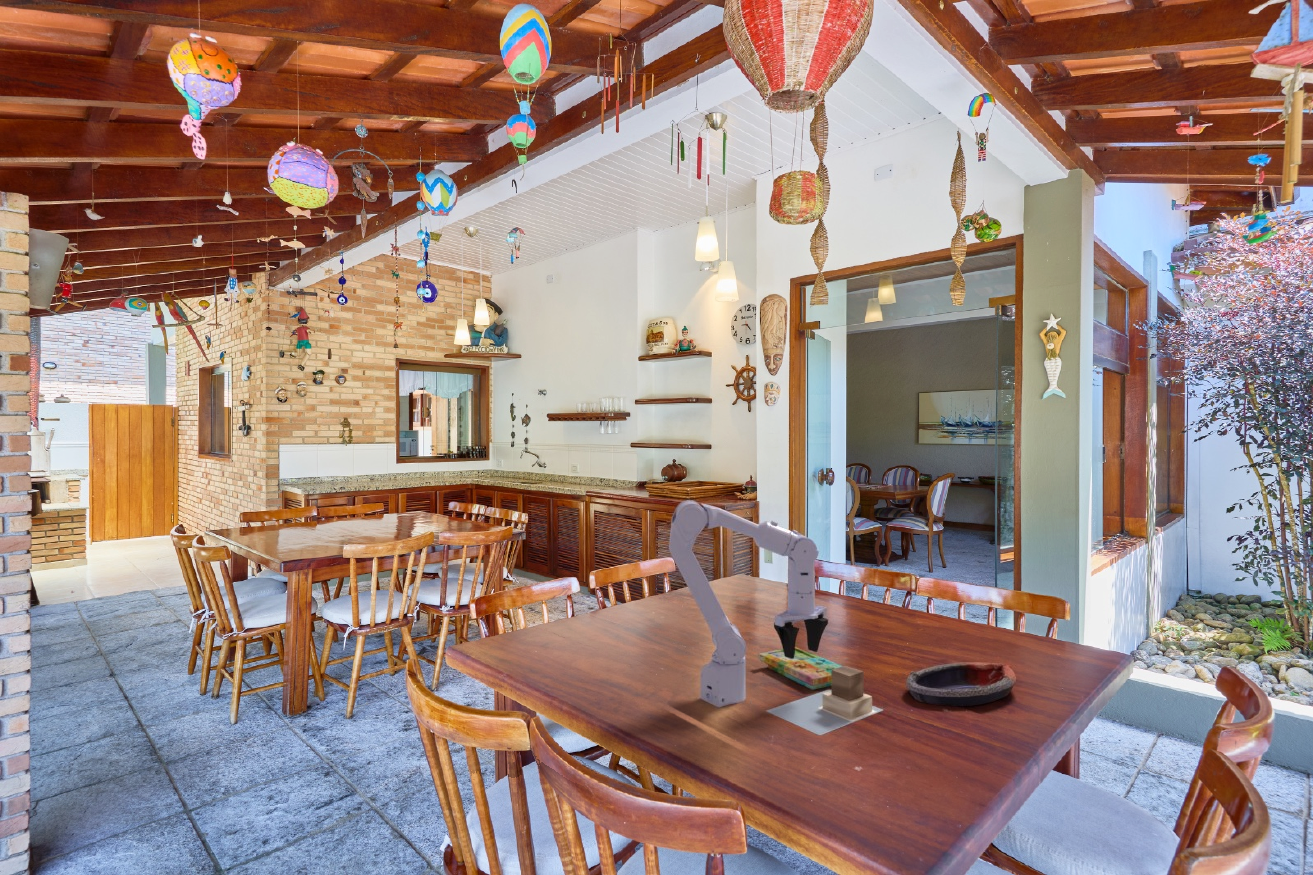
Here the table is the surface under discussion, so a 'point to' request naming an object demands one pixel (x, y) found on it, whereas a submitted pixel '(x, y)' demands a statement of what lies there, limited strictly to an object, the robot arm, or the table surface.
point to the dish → (962, 683)
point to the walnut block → (847, 683)
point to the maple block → (847, 705)
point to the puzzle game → (801, 667)
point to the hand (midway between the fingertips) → (801, 654)
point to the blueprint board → (814, 714)
